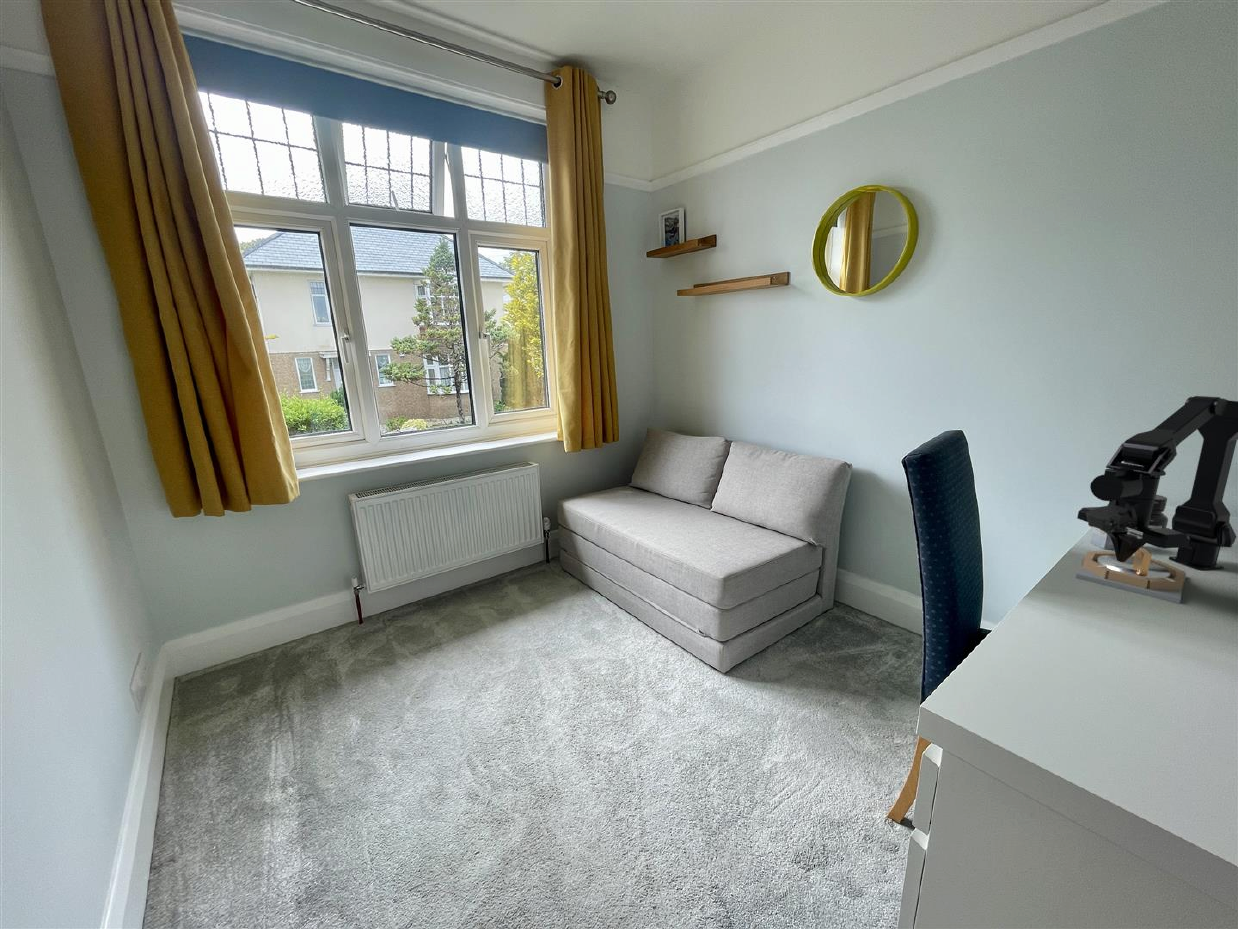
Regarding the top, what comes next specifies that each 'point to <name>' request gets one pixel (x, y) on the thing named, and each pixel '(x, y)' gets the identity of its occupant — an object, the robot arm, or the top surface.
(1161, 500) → the ink bottle
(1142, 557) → the dial
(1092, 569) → the dial plate
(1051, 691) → the top surface
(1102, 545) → the medicine box
